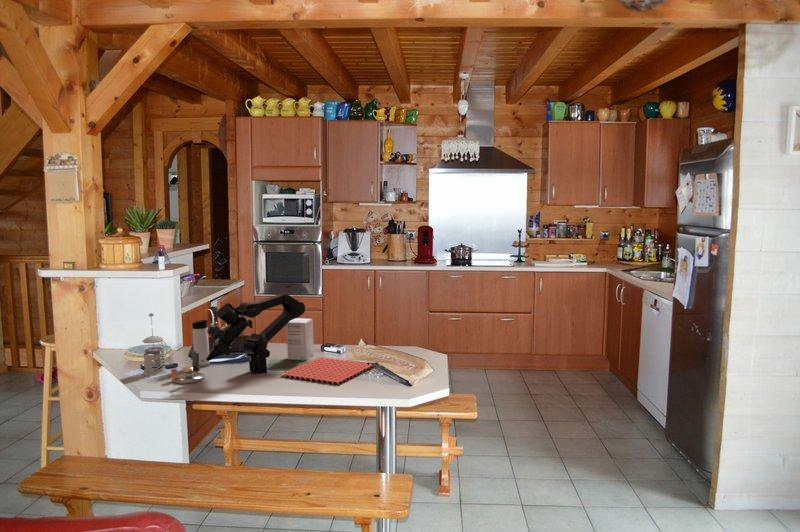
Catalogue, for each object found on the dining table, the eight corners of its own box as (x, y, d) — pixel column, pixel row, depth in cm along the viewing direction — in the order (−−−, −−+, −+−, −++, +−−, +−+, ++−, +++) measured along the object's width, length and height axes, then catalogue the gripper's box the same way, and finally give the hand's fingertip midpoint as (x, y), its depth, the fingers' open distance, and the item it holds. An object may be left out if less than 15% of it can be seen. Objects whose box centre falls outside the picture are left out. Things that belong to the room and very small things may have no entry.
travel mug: (206, 367, 257) (203, 321, 255) (191, 367, 259) (188, 321, 256) (213, 363, 263) (210, 318, 261) (199, 363, 265) (196, 318, 263)
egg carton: (279, 378, 242) (279, 373, 241) (320, 361, 266) (320, 356, 266) (338, 387, 229) (338, 382, 228) (375, 368, 253) (375, 363, 253)
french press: (137, 374, 250) (132, 314, 247) (157, 366, 261) (153, 309, 258) (155, 376, 246) (151, 316, 244) (175, 368, 257) (172, 310, 254)
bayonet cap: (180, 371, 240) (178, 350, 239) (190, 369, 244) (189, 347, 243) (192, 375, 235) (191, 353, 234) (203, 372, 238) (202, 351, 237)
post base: (204, 373, 249) (203, 361, 248) (205, 381, 237) (205, 369, 237) (171, 377, 244) (171, 365, 244) (171, 385, 233) (171, 373, 233)
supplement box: (295, 354, 277) (293, 317, 275) (314, 354, 275) (312, 318, 273) (287, 359, 268) (285, 322, 266) (307, 360, 266) (305, 322, 264)
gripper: (217, 313, 247) (190, 342, 245) (220, 321, 230) (191, 352, 227) (237, 330, 251) (211, 359, 248) (243, 339, 233) (214, 370, 231)
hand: (207, 360), depth 238 cm, fingers closed
